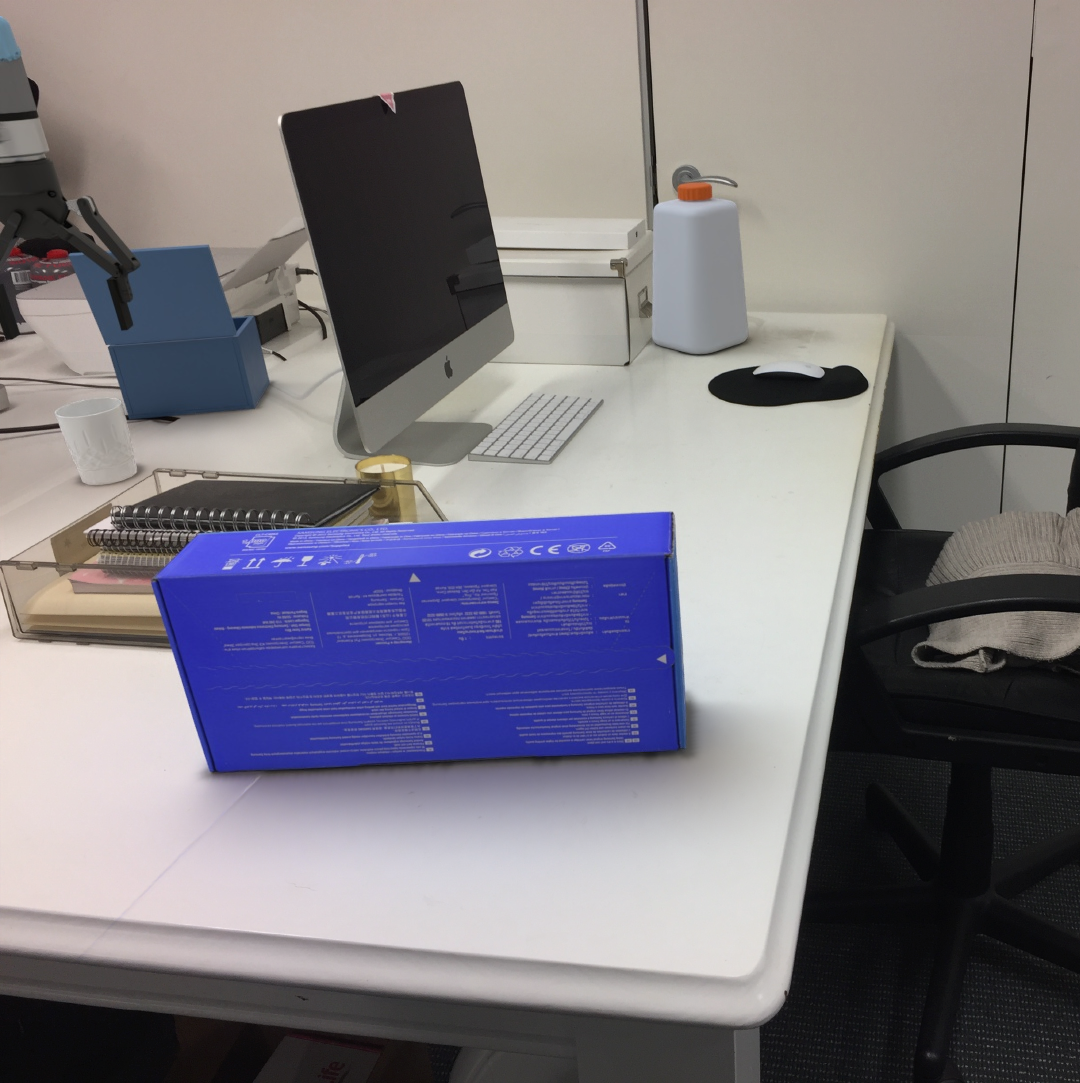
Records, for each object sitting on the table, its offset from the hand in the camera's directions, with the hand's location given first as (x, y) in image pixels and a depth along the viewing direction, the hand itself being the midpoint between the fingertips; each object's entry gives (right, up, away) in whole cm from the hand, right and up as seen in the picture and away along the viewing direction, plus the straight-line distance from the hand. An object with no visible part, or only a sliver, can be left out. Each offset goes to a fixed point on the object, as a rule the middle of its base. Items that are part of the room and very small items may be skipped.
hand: (71, 332), depth 134 cm
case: (-1, -4, +36) cm, 36 cm away
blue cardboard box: (+62, -44, -46) cm, 88 cm away
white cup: (0, -18, +8) cm, 20 cm away
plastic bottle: (+80, +10, +59) cm, 100 cm away
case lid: (0, +10, +20) cm, 22 cm away
